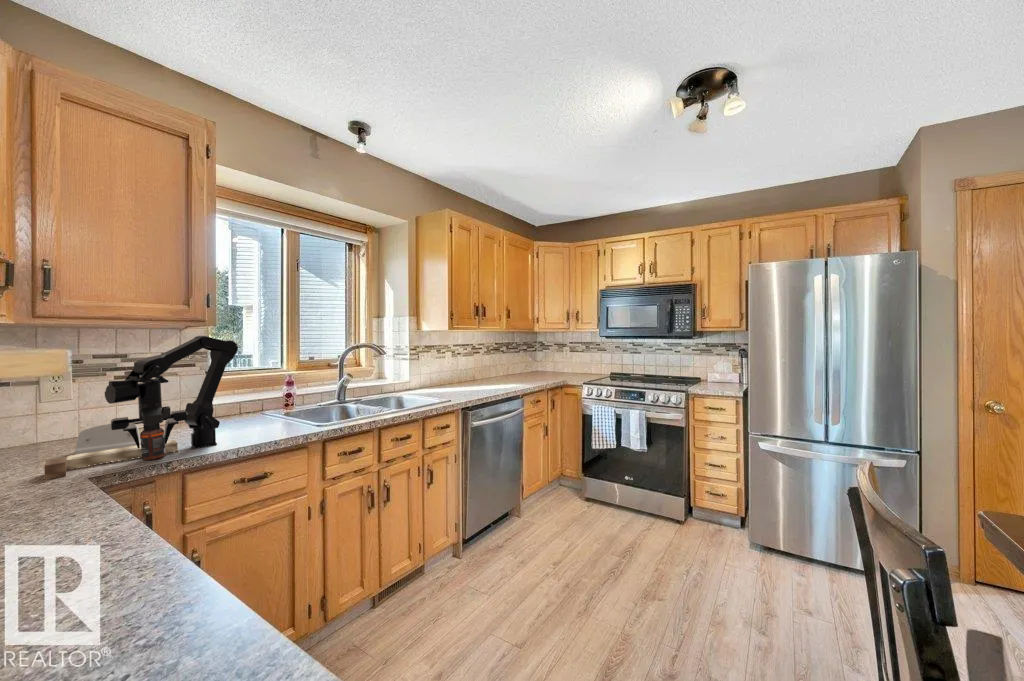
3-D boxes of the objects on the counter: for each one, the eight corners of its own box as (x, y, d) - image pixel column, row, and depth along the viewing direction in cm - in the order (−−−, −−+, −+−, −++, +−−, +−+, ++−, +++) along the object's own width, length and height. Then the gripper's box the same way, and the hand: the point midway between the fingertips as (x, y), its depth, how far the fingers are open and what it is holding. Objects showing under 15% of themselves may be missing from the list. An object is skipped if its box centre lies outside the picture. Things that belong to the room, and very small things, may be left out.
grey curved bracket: (73, 456, 138) (74, 426, 141) (76, 458, 142) (77, 428, 144) (140, 447, 149) (140, 419, 151) (141, 449, 152) (141, 422, 155)
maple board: (175, 448, 147) (174, 439, 147) (177, 451, 143) (177, 442, 143) (67, 465, 129) (67, 455, 129) (66, 470, 125) (66, 459, 125)
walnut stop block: (66, 470, 124) (66, 457, 124) (65, 476, 120) (65, 462, 119) (46, 473, 122) (46, 460, 121) (44, 479, 117) (44, 465, 117)
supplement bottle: (170, 454, 139) (168, 420, 139) (156, 460, 133) (153, 425, 133) (152, 455, 139) (149, 421, 138) (136, 461, 133) (134, 426, 133)
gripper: (111, 405, 123) (113, 457, 124) (190, 397, 136) (192, 444, 137) (109, 401, 131) (112, 450, 131) (184, 393, 144) (186, 438, 145)
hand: (152, 445), depth 136 cm, fingers open, 6 cm apart
